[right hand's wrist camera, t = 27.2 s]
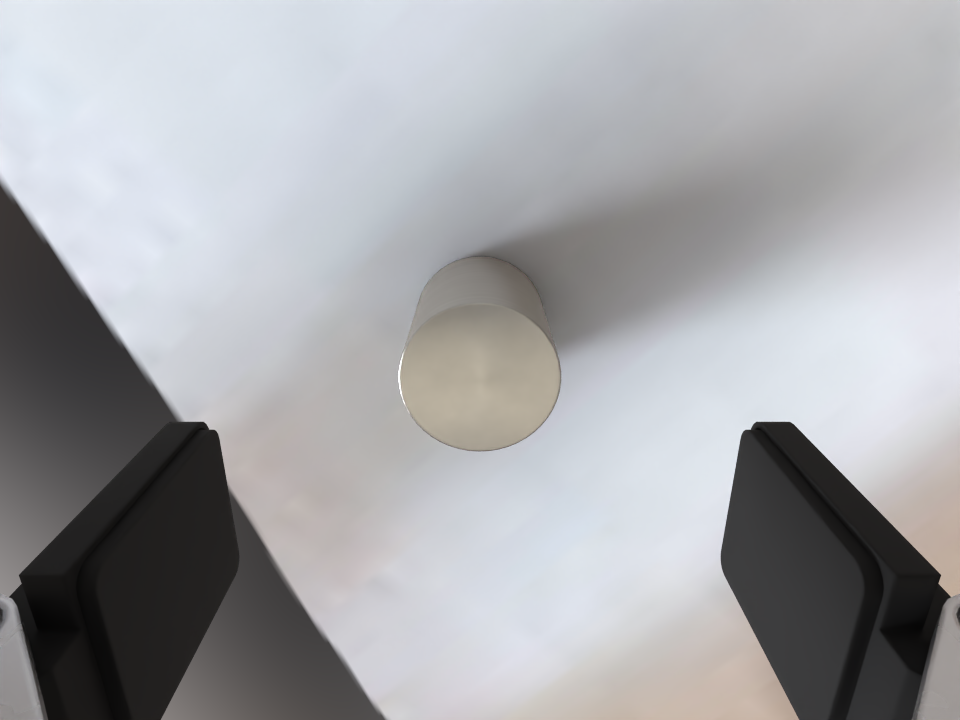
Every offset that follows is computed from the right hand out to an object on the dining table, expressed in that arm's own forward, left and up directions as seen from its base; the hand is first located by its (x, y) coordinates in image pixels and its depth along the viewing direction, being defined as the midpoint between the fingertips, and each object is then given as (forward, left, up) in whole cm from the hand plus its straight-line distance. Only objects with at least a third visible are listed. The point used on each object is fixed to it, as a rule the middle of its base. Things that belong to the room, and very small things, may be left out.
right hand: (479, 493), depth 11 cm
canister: (0, 0, -10) cm, 10 cm away
